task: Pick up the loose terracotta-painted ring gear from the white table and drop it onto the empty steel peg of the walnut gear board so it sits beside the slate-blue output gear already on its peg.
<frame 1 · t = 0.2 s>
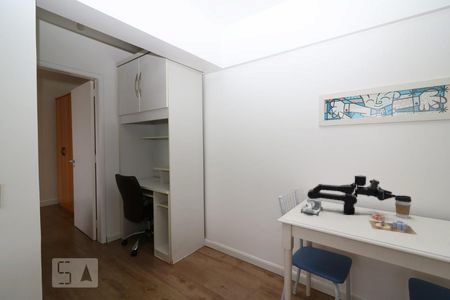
hand: (393, 194, 137), 16 cm above the table, tool horizontal, fingers open, 9 cm apart
phone holder: (311, 212, 154), on the table
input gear: (378, 221, 135), on the table
coffee cup: (402, 218, 138), on the table
gear board: (391, 229, 123), on the table
output gear: (399, 228, 121), point 1 cm above the table, touching gear board
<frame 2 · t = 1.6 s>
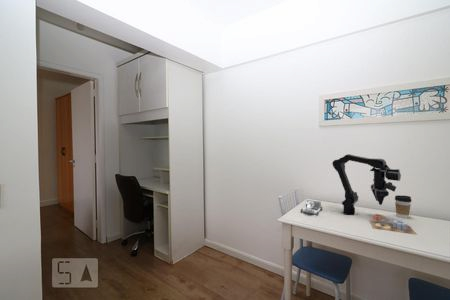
hand: (378, 202, 134), 12 cm above the table, tool pointing down, fingers open, 9 cm apart
nothing on the table moved.
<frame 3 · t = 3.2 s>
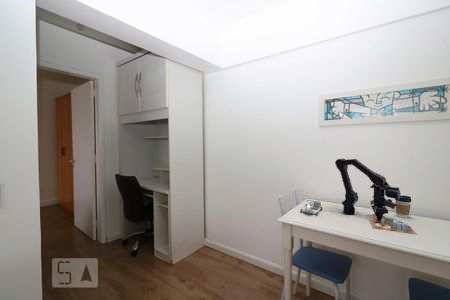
hand: (378, 219, 135), 1 cm above the table, tool pointing down, fingers closed on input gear, 6 cm apart
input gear: (378, 221, 135), on the table, touching gripper
everything else where it was.
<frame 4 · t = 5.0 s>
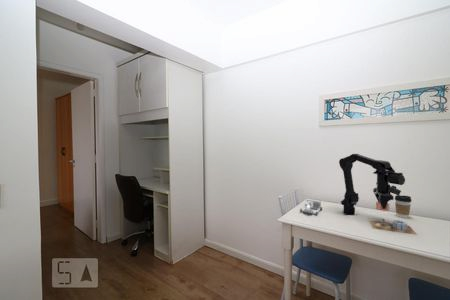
hand: (382, 207, 127), 11 cm above the table, tool pointing down, fingers closed on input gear, 6 cm apart
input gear: (382, 209, 127), point 10 cm above the table, touching gripper
everything else where it was.
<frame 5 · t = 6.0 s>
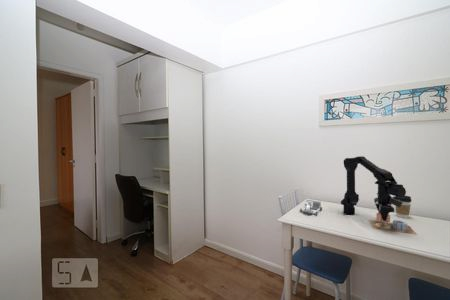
hand: (382, 218, 124), 6 cm above the table, tool pointing down, fingers closed on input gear, 6 cm apart
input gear: (383, 220, 124), point 5 cm above the table, touching gripper
everything else where it was.
when the fingers open (4 cm above the table, at t = 6.8 s): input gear drops 1 cm, resting on gear board.
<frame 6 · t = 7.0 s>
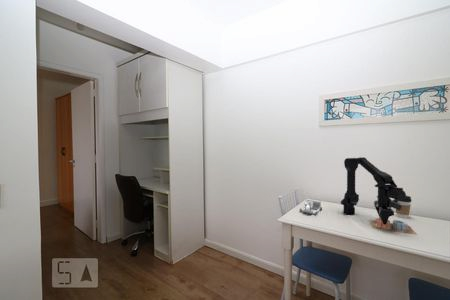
hand: (382, 221, 124), 4 cm above the table, tool pointing down, fingers open, 8 cm apart
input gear: (382, 225, 124), point 2 cm above the table, touching gear board
everything else where it was.
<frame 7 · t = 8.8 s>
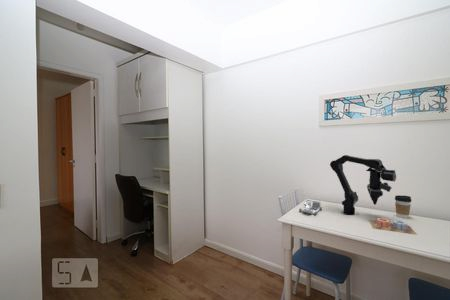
hand: (373, 202, 136), 12 cm above the table, tool pointing down, fingers open, 9 cm apart
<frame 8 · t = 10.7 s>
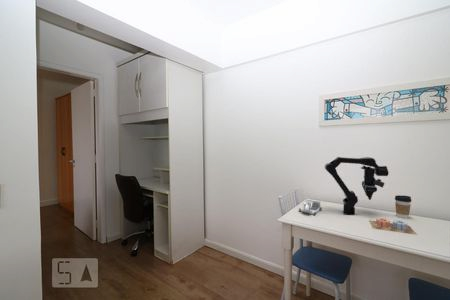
hand: (368, 197, 145), 12 cm above the table, tool pointing down, fingers open, 9 cm apart
at the end: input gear 0.1 cm from the target spot on the gear board, point 1.6 cm above the gear board's base; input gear 7.9 cm from the output gear (horizontally); the gripper is holding nothing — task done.
